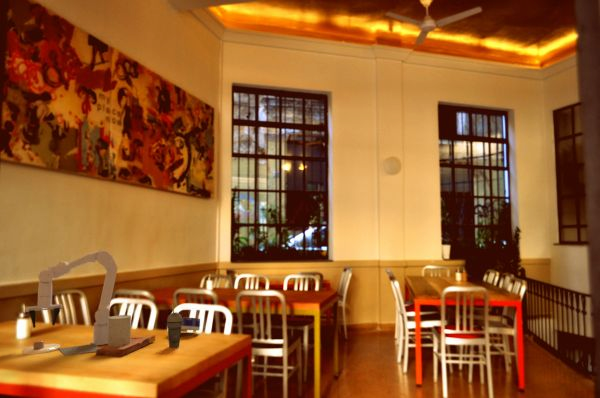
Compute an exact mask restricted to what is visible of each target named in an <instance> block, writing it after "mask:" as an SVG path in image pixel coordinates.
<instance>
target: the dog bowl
mask: <svg viewBox="0 0 600 398" xmlns="http://www.w3.org/2000/svg"><path fill="white" fill-rule="evenodd" d="M181 317H182V316H181ZM182 321H183V322H182V326H181V331H200V326H201V318H199V317H198V318H196V317H186V316H185V317H184V316H183V317H182Z"/></svg>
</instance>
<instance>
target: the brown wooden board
mask: <svg viewBox="0 0 600 398" xmlns="http://www.w3.org/2000/svg"><path fill="white" fill-rule="evenodd" d="M155 341H156V335H155V334H131V344H129V345H126V346H122V347H120V346H118V347H112V346H108V344H105V345H103V346H102V347H99V348H100V349H97V351H96V352H95V355H96V356H101V357H103V356H104V357H105V356H106V357H125V356H126V355H129V354H131V353H132V352H135V351H137V350H139V349H141V348H143V347H145V346H147V345H148V344H151V343H153V342H155Z"/></svg>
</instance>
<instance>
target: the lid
mask: <svg viewBox="0 0 600 398" xmlns="http://www.w3.org/2000/svg"><path fill="white" fill-rule="evenodd" d="M32 343H33V346H32V345H30V346H26V347H23V348H22V350H21V355H39V354H47V353H52V352H54V351H57V350H59V348H61V344H59V343H45V341H44V340H37V341H33V342H32Z"/></svg>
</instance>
